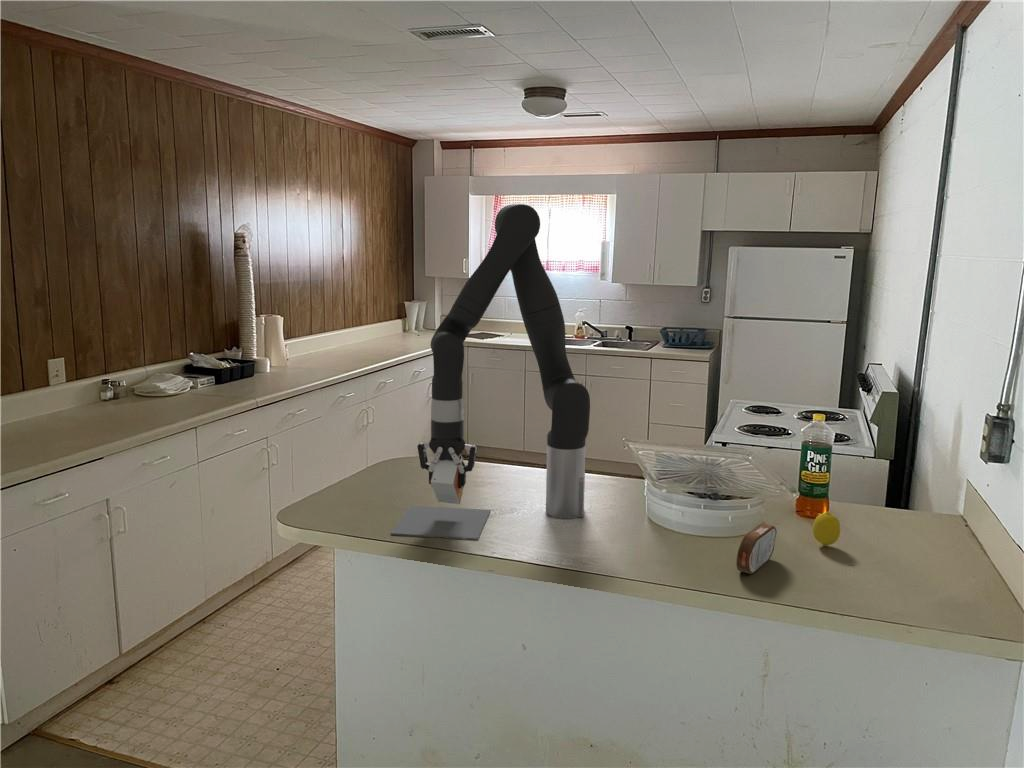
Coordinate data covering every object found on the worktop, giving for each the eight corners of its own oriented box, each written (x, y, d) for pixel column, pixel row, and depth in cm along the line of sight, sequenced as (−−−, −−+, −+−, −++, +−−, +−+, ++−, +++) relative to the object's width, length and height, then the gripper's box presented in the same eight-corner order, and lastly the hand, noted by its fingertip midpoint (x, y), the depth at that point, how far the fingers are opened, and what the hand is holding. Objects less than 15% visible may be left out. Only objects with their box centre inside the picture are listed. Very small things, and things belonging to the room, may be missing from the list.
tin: (762, 553, 163) (765, 516, 162) (777, 557, 161) (780, 519, 160) (733, 577, 152) (736, 537, 150) (748, 581, 150) (751, 541, 148)
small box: (460, 505, 181) (453, 485, 173) (437, 502, 182) (429, 482, 174) (467, 475, 186) (460, 454, 177) (444, 472, 187) (437, 451, 178)
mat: (490, 511, 187) (490, 509, 186) (477, 540, 169) (478, 538, 169) (411, 507, 189) (411, 505, 189) (390, 534, 172) (390, 533, 171)
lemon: (822, 552, 164) (825, 517, 162) (806, 542, 169) (809, 508, 168) (844, 550, 165) (847, 515, 164) (827, 540, 171) (830, 506, 169)
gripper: (412, 419, 172) (413, 490, 176) (475, 422, 171) (474, 493, 174) (420, 412, 180) (421, 480, 183) (480, 414, 178) (480, 483, 181)
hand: (447, 486), depth 178 cm, fingers closed on small box, 6 cm apart
